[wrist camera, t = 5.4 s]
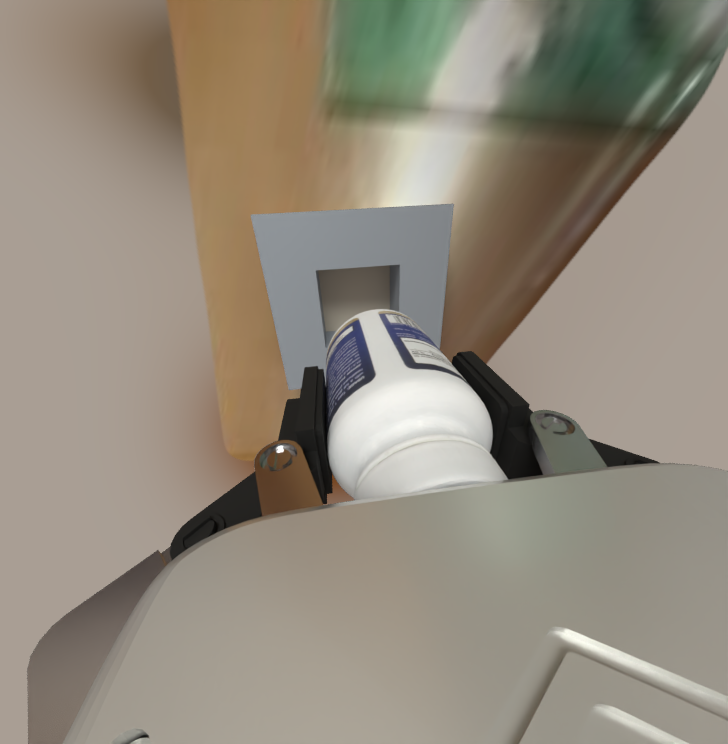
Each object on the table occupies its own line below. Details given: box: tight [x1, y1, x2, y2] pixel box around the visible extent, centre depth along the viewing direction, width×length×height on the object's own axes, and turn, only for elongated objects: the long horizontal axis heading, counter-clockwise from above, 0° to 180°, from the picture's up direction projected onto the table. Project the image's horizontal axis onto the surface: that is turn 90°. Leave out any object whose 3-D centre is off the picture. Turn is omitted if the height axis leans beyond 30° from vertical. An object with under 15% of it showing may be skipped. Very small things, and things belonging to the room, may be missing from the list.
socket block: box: [251, 204, 454, 390], centre depth 25 cm, size 14×14×5 cm
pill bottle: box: [326, 309, 508, 501], centre depth 11 cm, size 5×5×10 cm
